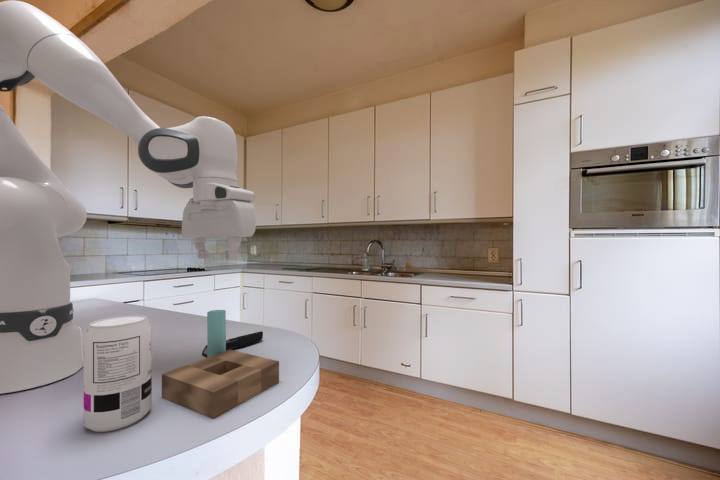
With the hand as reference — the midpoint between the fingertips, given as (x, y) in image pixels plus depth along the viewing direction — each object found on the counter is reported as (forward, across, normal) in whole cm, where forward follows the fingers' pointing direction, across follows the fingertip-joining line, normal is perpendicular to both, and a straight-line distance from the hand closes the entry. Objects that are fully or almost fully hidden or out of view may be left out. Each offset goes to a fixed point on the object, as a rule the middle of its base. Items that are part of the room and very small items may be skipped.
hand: (216, 258), depth 67 cm
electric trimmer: (+24, -7, +10) cm, 27 cm away
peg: (+23, 0, 0) cm, 23 cm away
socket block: (+23, +10, -6) cm, 26 cm away
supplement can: (+24, +4, -20) cm, 31 cm away
